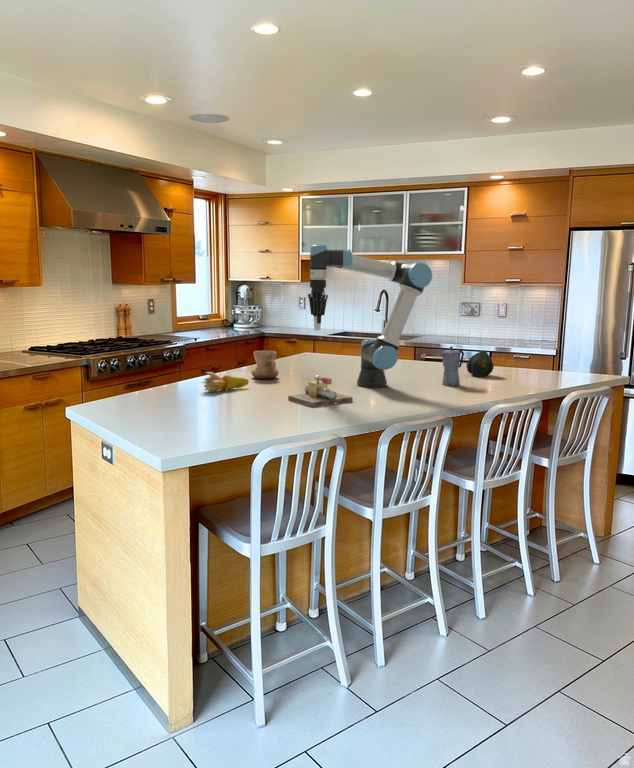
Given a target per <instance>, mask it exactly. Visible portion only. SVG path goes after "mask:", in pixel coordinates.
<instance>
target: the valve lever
mask: <svg viewBox="0 0 634 768" xmlns="http://www.w3.org/2000/svg"><path fill="white" fill-rule="evenodd" d="M314 381H321V382H322V383H324V384H327V386H328V385H332V378H329V377H327V376H326V377H324V376H321V375H320V374H316V375H314Z"/></svg>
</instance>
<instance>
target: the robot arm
mask: <svg viewBox="0 0 634 768" xmlns="http://www.w3.org/2000/svg"><path fill="white" fill-rule="evenodd" d="M309 251H310V252H309V260H310V261H309V262H310V263H309V265H310V266H309V272H310V273H309V278H310V280H309V288H311V292H310V293H308V294H307V298H308V302H309V309H310V314H311V315H312V316H313V330H314V331H317V332H318V331H322V330H321V327H322V325H321V324H322V317H323V316H324V315H325V313H326V306H327V301H328V298H329V294H326V293H325V289H326V287H327V280H326V279H327V268H335V269H340V270H346V271H349V272H356V273H360V274H364V275H370V276H375V277H379V278H384V279H387V280H388V281H389V282H393V283H396V284H399V285H398V286H399V288H400V291H399V293H398V295H397V298H396V300H395V303H394V304H393V307H392V309H391V311H390V314H389V317H388V319H387V321H386V324H385V326H384V329H383V330H382V333H381V335H379V336H377V337H376V339H369V340H368V339H365V340H362V341H361V346H360V371H359V373H358V378H357V380H356V385H357V386H358V385H359V386H360V387H364V388H384V387H387V385H388V381H387V377H386V374H385V371H386V370H389V369H392V368H394V366H395V365H396V363H397V362H398V359H399V355H398V352H399V348H400V345H399V340H400V337H401V336H402V333H403V330H404V329H405V326H406V323H407V322H408V319H409V316H410V314H411V313H412V310H413V307H414V304H415V303H416V300H417V299H418V296H422V294H423V292H424V289H425V288H426V287H427V286H429V284H431V282H432V280H433V271H432V269H431V267H430V266H429V265H428V264H427V263H425V262H421V261H416V262H396V261H392V262H391V263H390V262H387V261H382V260H377V259H372V258H367V257H364V256H357V255H354V254H353V253H352V251H351V250H349V249H348V250H346V249H328V247H327V245H325V244H312V245H310V249H309ZM384 370H385V371H384ZM359 386H358V387H359Z"/></svg>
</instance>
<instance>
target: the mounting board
mask: <svg viewBox="0 0 634 768" xmlns="http://www.w3.org/2000/svg"><path fill="white" fill-rule="evenodd" d="M336 394H337V397H336V399H335V400H331V399H327V398H322V397H313V396H309V395H308V394H306V393H298V394H297V393H296V394H290V395H289V394H288V396H287V399H288V401H290V400H291V401H290V402H293V401H294V403H297V404H300V403H301V405H303V404H304V405H303V406H306V405H308V406H307V407H310V406H311V407H310V408H315V407H314V406H317V407H322V406H321V405H324V406H328V405H327V404H332V405H336V404H335V403H339V404H344V402H346V403H352V402H353V397H352V396H349V395H345V394H341V393H338V392H336Z"/></svg>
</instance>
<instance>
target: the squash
mask: <svg viewBox="0 0 634 768" xmlns="http://www.w3.org/2000/svg"><path fill="white" fill-rule="evenodd" d="M466 370H467V372H468V373H469V374H471V375H473V377H483V376H484V377H487V376H488V375H490V374H491V373H493V370H494V362H493V359H492V358H491V356H490V355H489V353H488V352H487V351H486V350H481V351H479V352H477V353H475V354H474V355H472V356H470V357H469V358H468V360H467V363H466Z"/></svg>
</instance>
